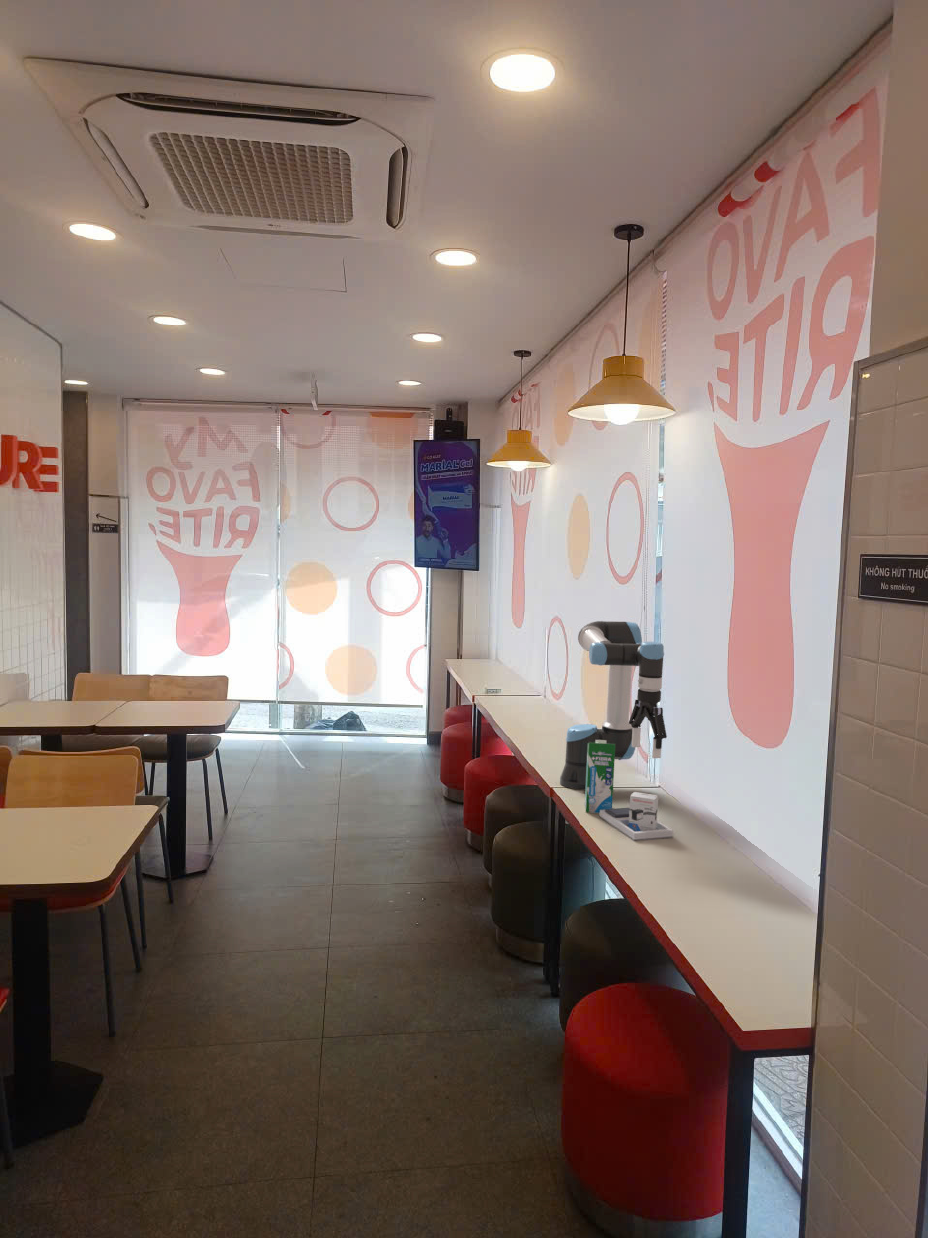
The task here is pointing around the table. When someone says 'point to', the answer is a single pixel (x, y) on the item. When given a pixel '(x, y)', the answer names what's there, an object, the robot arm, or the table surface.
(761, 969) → the table surface
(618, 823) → the socket plate
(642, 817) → the ink box
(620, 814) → the phone slab
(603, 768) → the milk carton
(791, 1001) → the table surface
